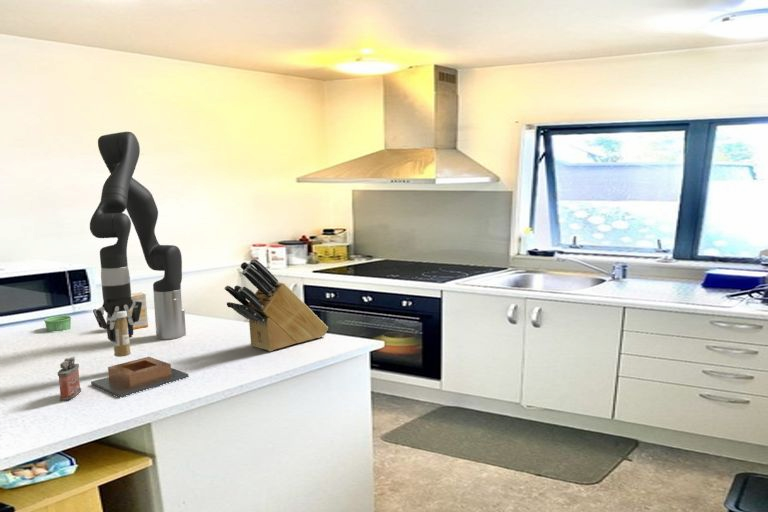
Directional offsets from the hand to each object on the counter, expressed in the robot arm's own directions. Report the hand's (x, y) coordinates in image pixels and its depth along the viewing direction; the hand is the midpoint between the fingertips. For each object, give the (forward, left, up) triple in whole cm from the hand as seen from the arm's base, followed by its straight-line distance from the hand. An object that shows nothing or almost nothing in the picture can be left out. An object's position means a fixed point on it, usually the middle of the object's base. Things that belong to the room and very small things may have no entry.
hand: (120, 338), depth 169 cm
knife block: (-47, +16, -10) cm, 50 cm away
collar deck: (+2, +13, -10) cm, 16 cm away
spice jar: (0, 0, -5) cm, 5 cm away
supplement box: (-28, -47, -10) cm, 56 cm away
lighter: (+19, +9, -10) cm, 23 cm away
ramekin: (-9, -69, -10) cm, 70 cm away
